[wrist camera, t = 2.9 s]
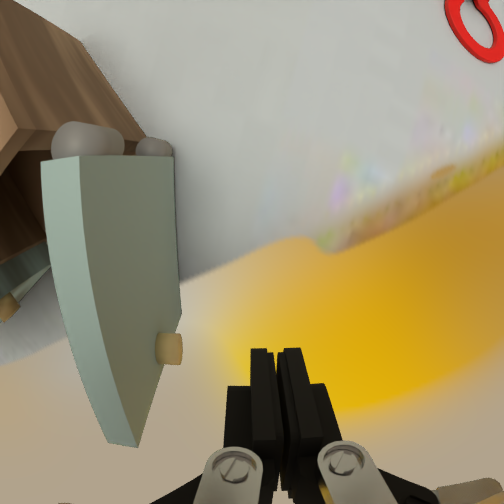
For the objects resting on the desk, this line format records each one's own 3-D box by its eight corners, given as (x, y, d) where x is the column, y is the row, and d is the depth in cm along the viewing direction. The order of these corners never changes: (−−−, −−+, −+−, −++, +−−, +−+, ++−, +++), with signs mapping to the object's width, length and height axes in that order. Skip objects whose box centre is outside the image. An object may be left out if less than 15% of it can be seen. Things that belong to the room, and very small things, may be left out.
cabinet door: (196, 313, 24) (163, 451, 11) (162, 312, 24) (106, 442, 11) (190, 139, 20) (115, 109, 7) (152, 141, 20) (39, 124, 7)
